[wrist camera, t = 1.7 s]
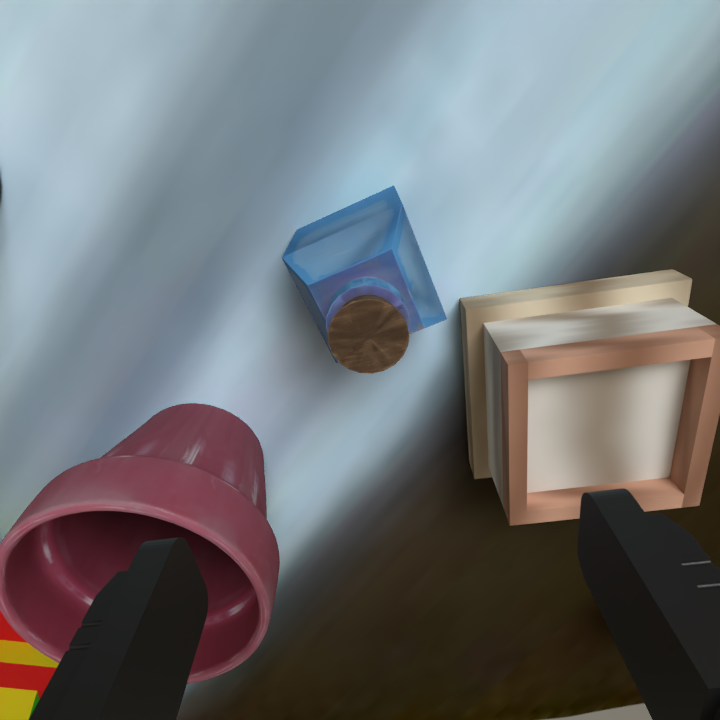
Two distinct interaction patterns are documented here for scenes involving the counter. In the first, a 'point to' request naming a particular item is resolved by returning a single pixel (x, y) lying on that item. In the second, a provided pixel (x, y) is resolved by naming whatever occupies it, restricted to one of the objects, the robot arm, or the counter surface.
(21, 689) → the building blocks toy
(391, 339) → the perfume bottle
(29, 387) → the counter surface
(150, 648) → the robot arm
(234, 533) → the plant pot
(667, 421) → the pedestal
